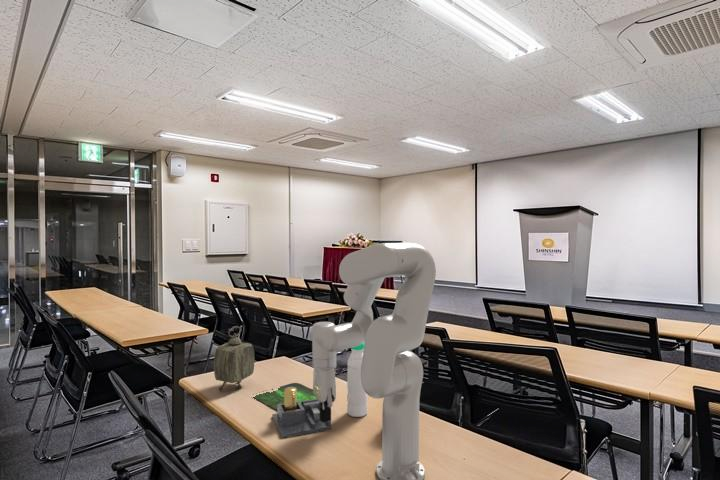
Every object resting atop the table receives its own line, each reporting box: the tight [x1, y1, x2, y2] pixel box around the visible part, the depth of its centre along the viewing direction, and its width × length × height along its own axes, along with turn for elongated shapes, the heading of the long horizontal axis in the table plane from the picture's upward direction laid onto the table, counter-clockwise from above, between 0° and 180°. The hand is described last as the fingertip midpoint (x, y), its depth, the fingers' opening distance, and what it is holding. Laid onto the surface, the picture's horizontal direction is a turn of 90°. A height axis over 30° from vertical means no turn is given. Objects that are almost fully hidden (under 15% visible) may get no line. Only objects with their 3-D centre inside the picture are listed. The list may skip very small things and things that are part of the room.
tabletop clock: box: [213, 325, 255, 392], centre depth 168 cm, size 14×9×25 cm, turn 154°
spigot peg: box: [284, 387, 297, 412], centre depth 137 cm, size 4×4×10 cm
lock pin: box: [308, 406, 320, 421], centre depth 140 cm, size 9×3×3 cm, turn 22°
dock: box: [271, 399, 333, 439], centre depth 137 cm, size 16×16×5 cm
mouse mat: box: [252, 382, 334, 412], centre depth 158 cm, size 27×22×1 cm
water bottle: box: [346, 341, 368, 418], centre depth 144 cm, size 7×7×25 cm
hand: (325, 420), depth 130 cm, fingers closed
